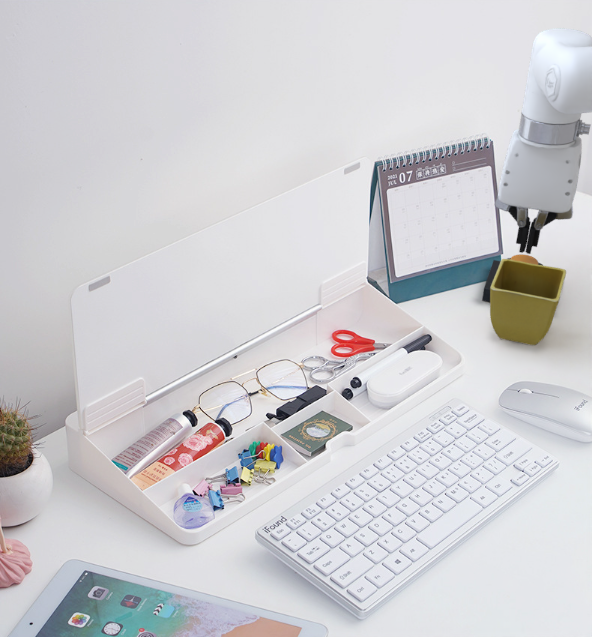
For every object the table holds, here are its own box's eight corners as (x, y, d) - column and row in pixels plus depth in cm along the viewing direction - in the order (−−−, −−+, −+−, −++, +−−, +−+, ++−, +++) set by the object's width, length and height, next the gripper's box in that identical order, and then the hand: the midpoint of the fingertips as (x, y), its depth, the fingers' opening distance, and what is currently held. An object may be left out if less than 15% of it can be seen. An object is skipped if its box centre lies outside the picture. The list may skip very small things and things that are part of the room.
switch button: (537, 267, 119) (539, 257, 118) (534, 280, 116) (536, 269, 115) (510, 262, 120) (512, 252, 119) (506, 275, 117) (508, 264, 116)
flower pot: (480, 343, 109) (489, 287, 104) (493, 310, 116) (502, 256, 111) (546, 358, 106) (558, 301, 101) (555, 323, 113) (567, 269, 108)
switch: (554, 283, 122) (558, 260, 120) (547, 313, 115) (552, 289, 113) (491, 271, 125) (495, 249, 123) (481, 300, 118) (485, 277, 116)
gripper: (608, 125, 107) (581, 246, 117) (496, 111, 111) (478, 229, 121) (605, 145, 101) (577, 270, 111) (487, 130, 105) (469, 251, 116)
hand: (525, 248), depth 116 cm, fingers closed
